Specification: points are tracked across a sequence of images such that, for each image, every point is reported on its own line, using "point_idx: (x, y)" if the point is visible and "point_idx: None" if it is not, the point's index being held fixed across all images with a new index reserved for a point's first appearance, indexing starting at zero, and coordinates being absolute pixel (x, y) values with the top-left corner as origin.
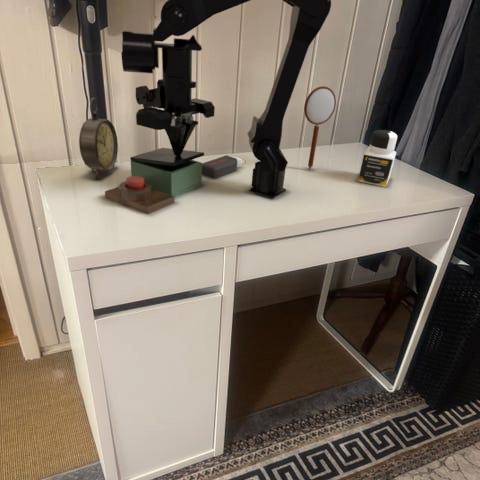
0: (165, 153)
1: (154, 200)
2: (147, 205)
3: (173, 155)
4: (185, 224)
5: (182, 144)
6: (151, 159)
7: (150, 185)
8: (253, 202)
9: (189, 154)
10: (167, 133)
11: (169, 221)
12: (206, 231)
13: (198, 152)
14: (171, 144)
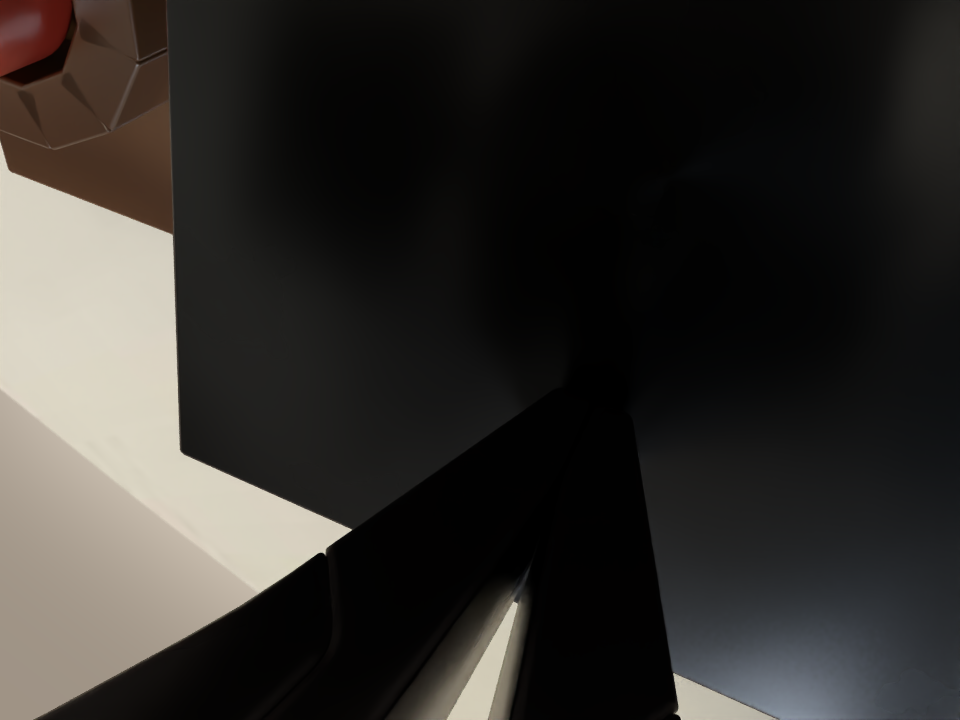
0: (821, 62)
1: (118, 163)
2: (20, 153)
3: (610, 340)
4: (147, 394)
5: (496, 697)
6: (192, 3)
7: (97, 111)
8: (678, 702)
9: (728, 596)
10: (120, 695)
11: (103, 307)
12: (172, 490)
13: (915, 717)
14: (398, 508)
